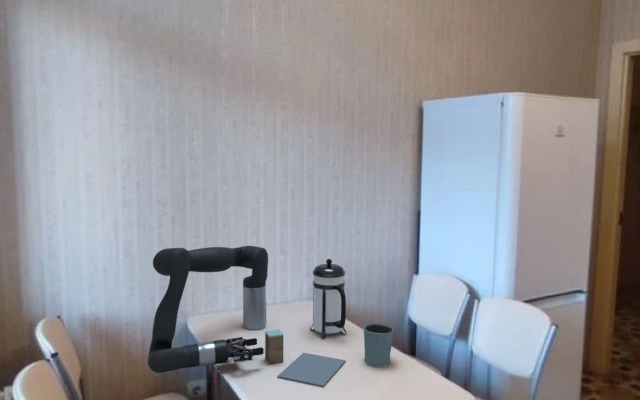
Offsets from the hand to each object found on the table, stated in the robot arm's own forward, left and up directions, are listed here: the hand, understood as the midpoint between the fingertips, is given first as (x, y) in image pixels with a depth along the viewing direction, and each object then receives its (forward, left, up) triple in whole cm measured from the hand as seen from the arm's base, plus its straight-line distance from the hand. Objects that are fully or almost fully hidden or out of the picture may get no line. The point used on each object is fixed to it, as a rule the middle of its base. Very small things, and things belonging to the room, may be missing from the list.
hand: (260, 345), depth 169 cm
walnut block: (-3, +4, -6) cm, 8 cm away
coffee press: (-35, +12, -6) cm, 37 cm away
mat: (-2, +19, -6) cm, 20 cm away
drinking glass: (-17, +37, -6) cm, 41 cm away
